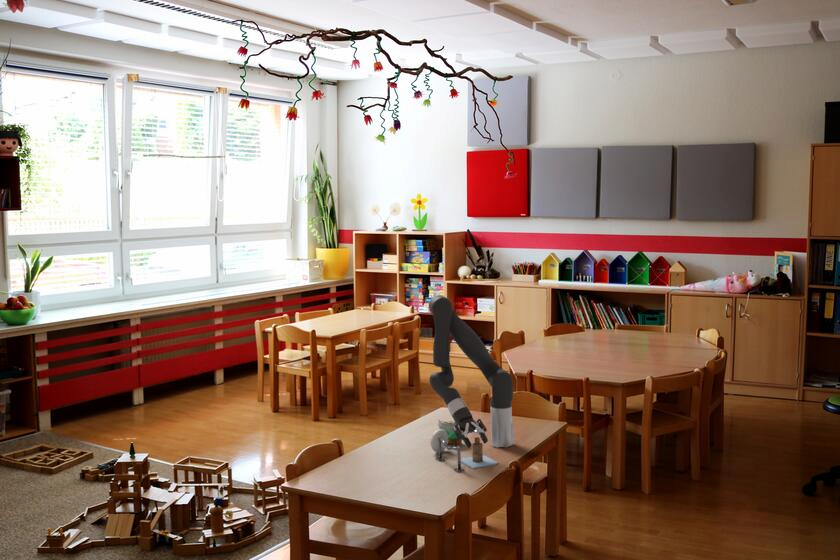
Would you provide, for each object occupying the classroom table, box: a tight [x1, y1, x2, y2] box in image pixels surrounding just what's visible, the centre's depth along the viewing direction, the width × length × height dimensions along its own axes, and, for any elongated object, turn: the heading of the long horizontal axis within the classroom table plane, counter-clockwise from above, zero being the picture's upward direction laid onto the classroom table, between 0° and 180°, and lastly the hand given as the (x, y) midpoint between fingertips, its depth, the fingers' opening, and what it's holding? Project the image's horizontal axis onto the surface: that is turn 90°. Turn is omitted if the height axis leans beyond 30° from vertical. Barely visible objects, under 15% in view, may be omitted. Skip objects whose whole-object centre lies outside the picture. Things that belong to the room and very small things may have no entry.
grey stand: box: [435, 437, 465, 473], centre depth 320 cm, size 3×19×10 cm, turn 27°
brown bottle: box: [471, 436, 484, 463], centre depth 322 cm, size 4×4×10 cm
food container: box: [437, 419, 463, 446], centre depth 348 cm, size 12×6×10 cm, turn 68°
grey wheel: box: [430, 428, 448, 454], centre depth 337 cm, size 10×4×10 cm, turn 139°
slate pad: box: [461, 454, 499, 470], centre depth 323 cm, size 12×12×1 cm
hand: (478, 444), depth 322 cm, fingers open, 8 cm apart
